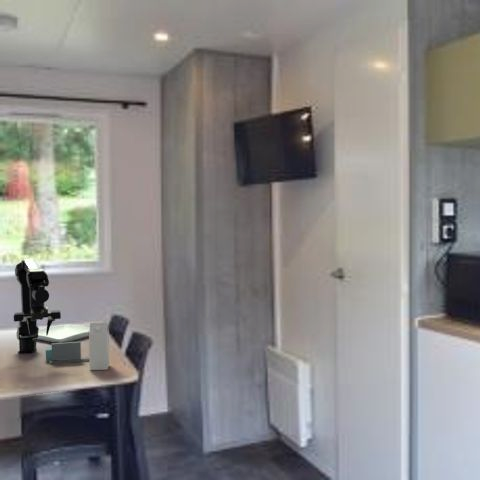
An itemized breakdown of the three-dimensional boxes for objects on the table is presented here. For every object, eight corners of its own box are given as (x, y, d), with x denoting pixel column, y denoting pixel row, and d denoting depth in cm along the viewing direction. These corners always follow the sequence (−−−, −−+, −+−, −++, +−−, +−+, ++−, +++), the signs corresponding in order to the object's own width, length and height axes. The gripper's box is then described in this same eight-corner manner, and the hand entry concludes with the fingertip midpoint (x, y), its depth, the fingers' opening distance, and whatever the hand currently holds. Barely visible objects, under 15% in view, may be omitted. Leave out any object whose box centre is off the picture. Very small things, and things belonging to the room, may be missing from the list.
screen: (51, 360, 256) (51, 344, 255) (51, 359, 257) (51, 343, 256) (80, 358, 259) (80, 342, 259) (80, 357, 260) (80, 341, 260)
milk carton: (92, 365, 252) (91, 321, 250) (109, 365, 252) (108, 320, 251) (89, 370, 245) (88, 324, 243) (107, 370, 245) (106, 324, 244)
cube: (45, 361, 258) (45, 350, 258) (46, 358, 263) (45, 347, 263) (58, 361, 260) (57, 349, 259) (57, 358, 265) (57, 346, 264)
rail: (49, 364, 254) (49, 361, 254) (49, 361, 258) (49, 359, 258) (100, 360, 260) (100, 357, 260) (99, 357, 264) (99, 355, 264)
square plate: (101, 335, 310) (101, 328, 309) (59, 346, 287) (59, 338, 286) (65, 329, 324) (65, 322, 324) (23, 339, 301) (22, 332, 301)
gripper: (12, 303, 242) (13, 341, 243) (60, 301, 248) (61, 338, 249) (13, 299, 253) (14, 336, 254) (60, 297, 259) (60, 332, 260)
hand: (38, 335), depth 254 cm, fingers open, 7 cm apart
